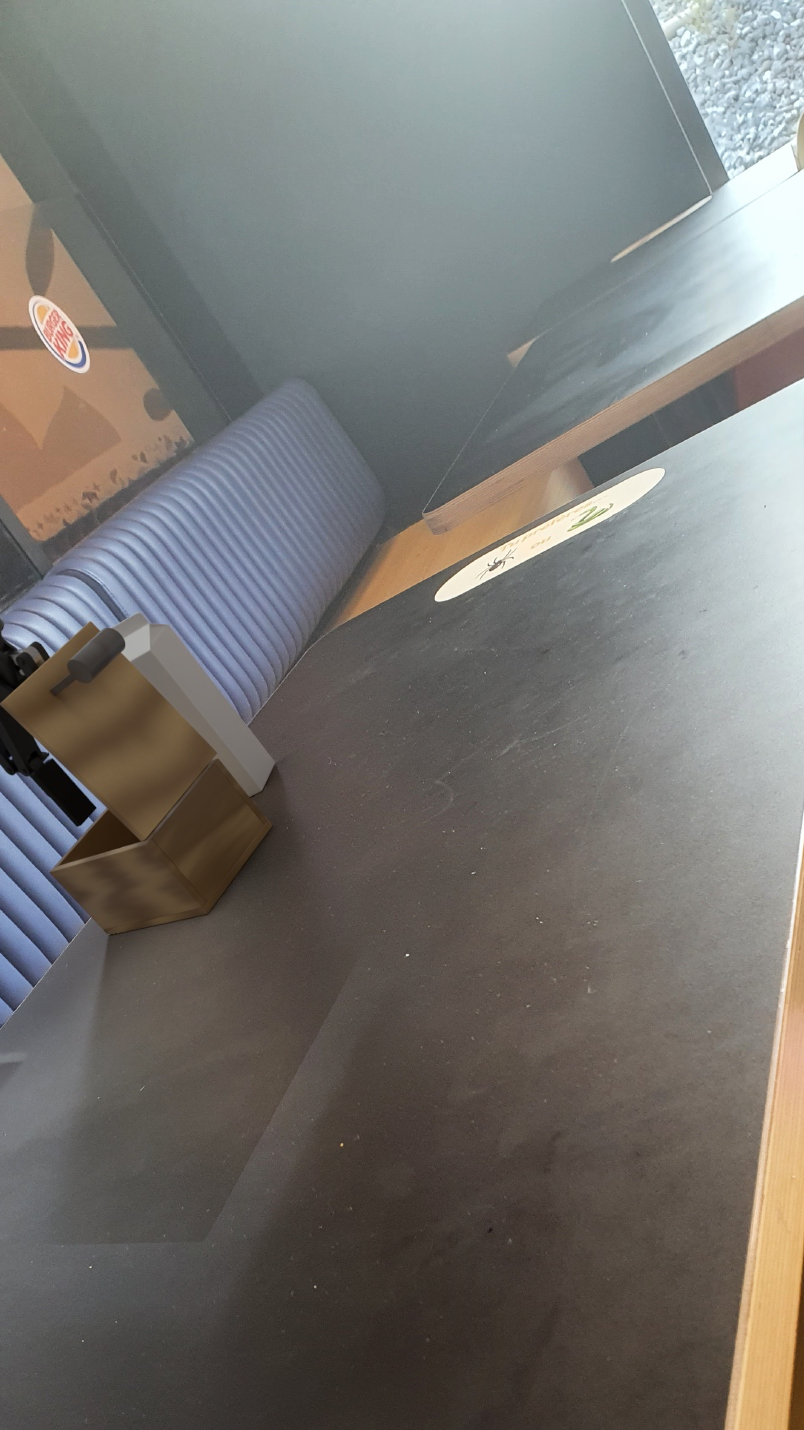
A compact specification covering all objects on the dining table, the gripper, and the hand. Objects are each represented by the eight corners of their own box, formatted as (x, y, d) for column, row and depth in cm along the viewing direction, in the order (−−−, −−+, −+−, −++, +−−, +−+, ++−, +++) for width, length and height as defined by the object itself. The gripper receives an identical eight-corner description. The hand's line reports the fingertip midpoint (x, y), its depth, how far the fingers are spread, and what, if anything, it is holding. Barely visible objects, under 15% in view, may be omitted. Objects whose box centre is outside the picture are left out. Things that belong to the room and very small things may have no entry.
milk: (262, 791, 124) (129, 623, 114) (219, 812, 127) (84, 649, 116) (276, 761, 129) (150, 598, 119) (234, 782, 132) (106, 624, 121)
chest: (108, 935, 116) (48, 872, 112) (174, 852, 124) (121, 790, 120) (208, 914, 107) (146, 844, 103) (272, 825, 115) (218, 757, 111)
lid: (-1, 704, 97) (38, 671, 92) (86, 624, 105) (126, 590, 100) (141, 841, 103) (184, 818, 98) (213, 755, 111) (256, 729, 106)
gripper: (31, 556, 98) (199, 762, 109) (-88, 625, 110) (73, 805, 121) (-26, 602, 93) (155, 813, 104) (-144, 669, 105) (29, 853, 116)
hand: (111, 809), depth 112 cm, fingers open, 8 cm apart
